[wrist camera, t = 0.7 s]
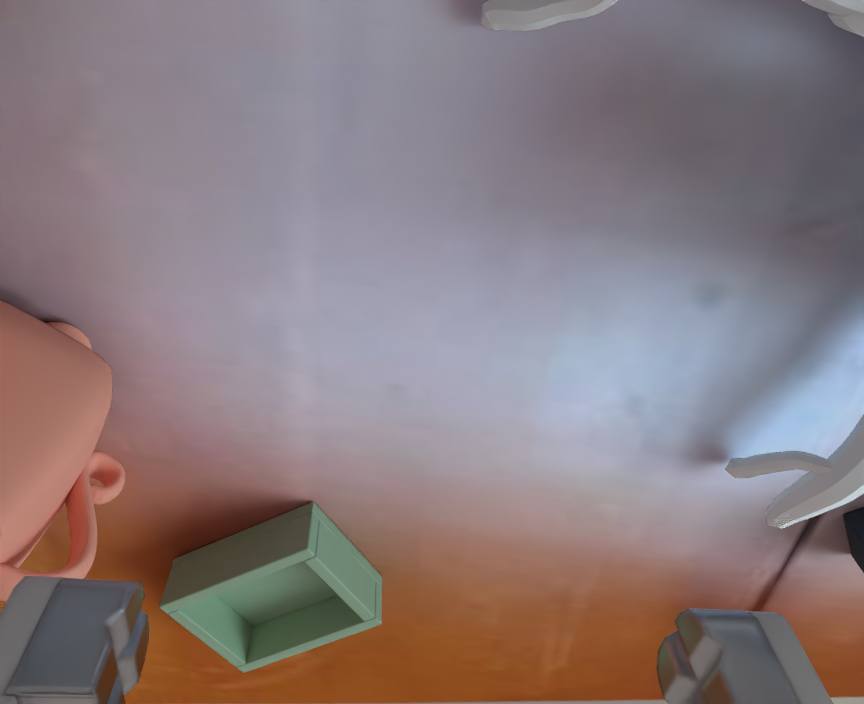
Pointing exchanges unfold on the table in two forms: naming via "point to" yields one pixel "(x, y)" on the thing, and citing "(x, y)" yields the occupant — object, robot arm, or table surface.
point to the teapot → (50, 441)
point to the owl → (809, 496)
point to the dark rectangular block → (856, 535)
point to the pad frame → (274, 589)
